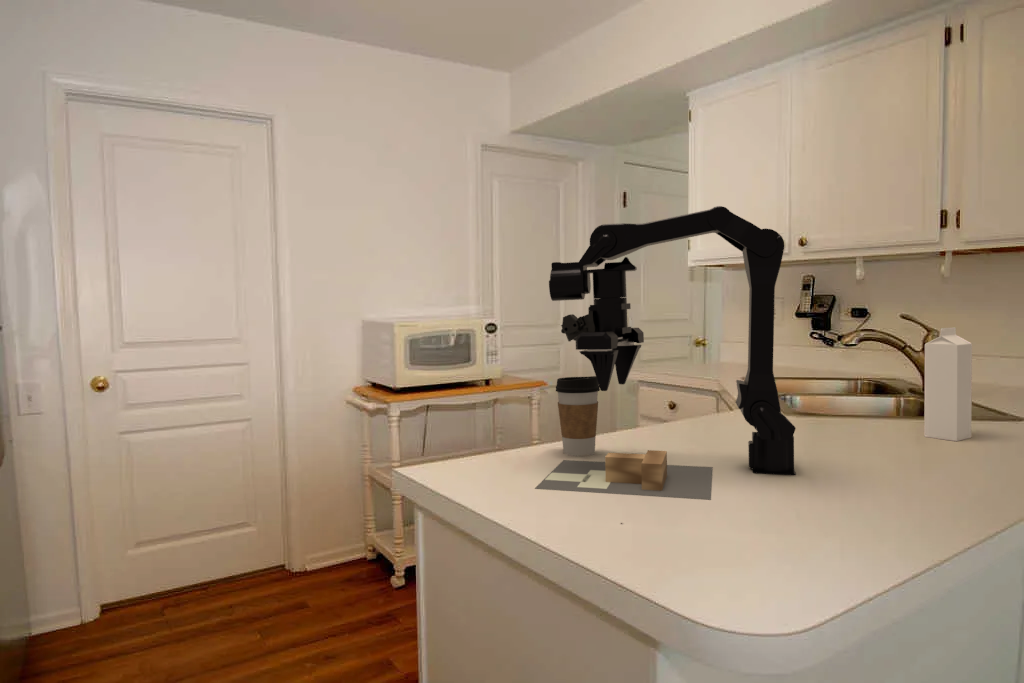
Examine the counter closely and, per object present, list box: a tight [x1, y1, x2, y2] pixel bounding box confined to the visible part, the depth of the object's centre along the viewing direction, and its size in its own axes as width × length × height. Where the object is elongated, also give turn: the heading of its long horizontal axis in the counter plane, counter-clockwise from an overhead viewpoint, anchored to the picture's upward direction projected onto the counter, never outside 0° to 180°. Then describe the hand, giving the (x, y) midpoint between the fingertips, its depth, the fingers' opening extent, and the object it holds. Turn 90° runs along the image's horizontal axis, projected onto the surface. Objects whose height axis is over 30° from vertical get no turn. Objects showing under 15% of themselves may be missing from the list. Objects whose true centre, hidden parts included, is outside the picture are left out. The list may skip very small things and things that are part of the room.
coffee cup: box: [555, 375, 601, 457], centre depth 122 cm, size 8×8×15 cm
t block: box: [604, 449, 668, 491], centre depth 101 cm, size 9×9×4 cm
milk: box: [923, 326, 973, 442], centre depth 128 cm, size 6×6×22 cm
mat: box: [534, 459, 714, 501], centre depth 104 cm, size 26×19×1 cm
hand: (613, 387), depth 112 cm, fingers open, 9 cm apart
